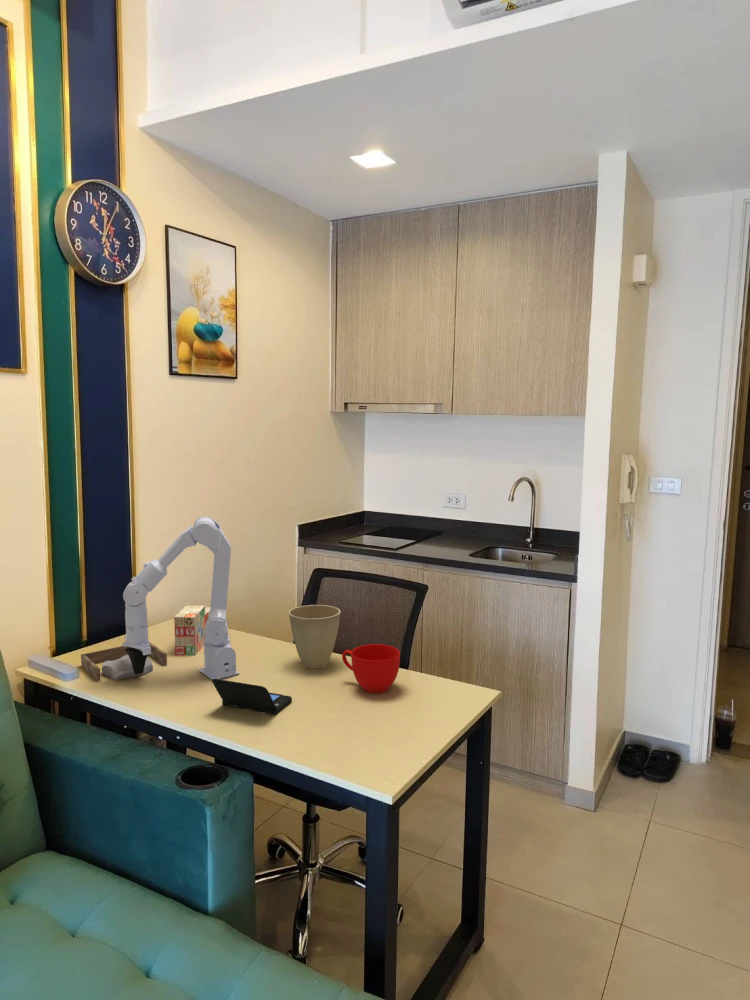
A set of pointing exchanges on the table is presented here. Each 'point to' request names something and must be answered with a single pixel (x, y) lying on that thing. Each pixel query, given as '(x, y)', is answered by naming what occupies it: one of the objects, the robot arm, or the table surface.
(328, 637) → the plant pot
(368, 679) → the ceramic cup
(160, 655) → the box
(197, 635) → the stack of blocks
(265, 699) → the game console
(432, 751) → the table surface
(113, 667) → the stone block
